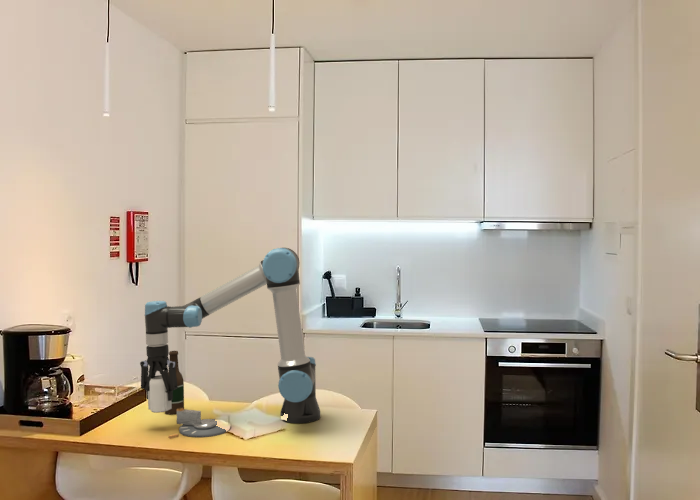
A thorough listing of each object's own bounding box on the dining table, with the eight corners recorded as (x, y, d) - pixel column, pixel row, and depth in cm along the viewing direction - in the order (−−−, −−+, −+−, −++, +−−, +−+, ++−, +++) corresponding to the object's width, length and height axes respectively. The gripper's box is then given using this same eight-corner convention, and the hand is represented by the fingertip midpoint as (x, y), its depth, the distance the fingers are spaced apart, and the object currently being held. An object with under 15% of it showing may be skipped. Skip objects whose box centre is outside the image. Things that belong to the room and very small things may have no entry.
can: (163, 413, 219) (162, 379, 219) (147, 412, 220) (145, 378, 220) (172, 408, 225) (171, 375, 225) (156, 407, 227) (154, 374, 226)
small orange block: (176, 435, 215) (176, 433, 215) (178, 436, 214) (178, 434, 214) (168, 437, 213) (168, 435, 213) (170, 438, 212) (170, 436, 212)
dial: (220, 423, 225) (220, 408, 225) (209, 429, 217) (208, 414, 217) (185, 419, 230) (184, 405, 230) (172, 426, 222) (172, 411, 222)
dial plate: (240, 424, 228) (240, 421, 228) (214, 439, 211) (214, 436, 211) (197, 419, 234) (197, 416, 234) (168, 434, 217) (168, 431, 217)
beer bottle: (187, 409, 248) (186, 349, 247) (180, 415, 240) (179, 353, 239) (168, 409, 248) (167, 349, 248) (160, 414, 241) (160, 353, 240)
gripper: (186, 343, 223) (189, 407, 223) (141, 342, 229) (143, 404, 229) (174, 347, 215) (177, 413, 216) (127, 345, 222) (130, 410, 222)
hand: (160, 408), depth 223 cm, fingers closed on can, 6 cm apart
